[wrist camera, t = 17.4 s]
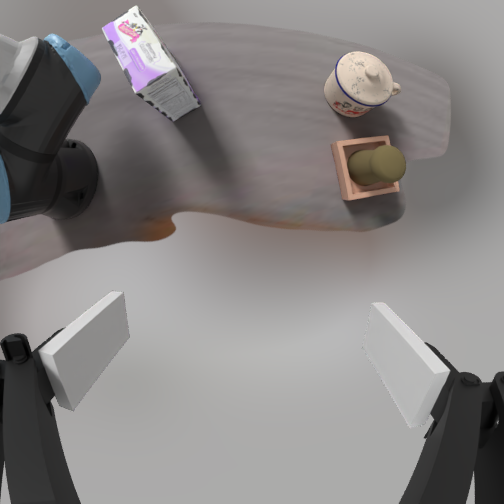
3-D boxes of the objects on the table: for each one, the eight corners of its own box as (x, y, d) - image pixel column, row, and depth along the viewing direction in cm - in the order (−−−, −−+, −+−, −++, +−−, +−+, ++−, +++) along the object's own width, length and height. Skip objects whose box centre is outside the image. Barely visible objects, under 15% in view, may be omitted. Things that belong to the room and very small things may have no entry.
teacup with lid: (325, 117, 42) (345, 97, 30) (319, 69, 40) (336, 39, 28) (389, 122, 41) (423, 107, 30) (382, 76, 39) (412, 52, 28)
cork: (385, 162, 42) (418, 157, 31) (370, 192, 43) (401, 195, 32) (356, 142, 41) (384, 131, 31) (340, 173, 43) (365, 170, 32)
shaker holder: (342, 199, 45) (348, 200, 41) (330, 144, 43) (336, 141, 39) (390, 190, 44) (399, 191, 41) (379, 138, 42) (388, 135, 39)
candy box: (141, 66, 40) (99, 27, 24) (169, 49, 39) (137, 2, 23) (172, 123, 42) (132, 95, 26) (203, 105, 42) (177, 66, 25)
